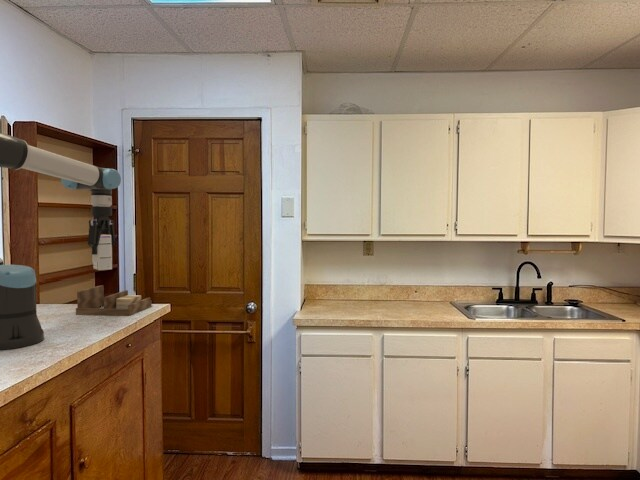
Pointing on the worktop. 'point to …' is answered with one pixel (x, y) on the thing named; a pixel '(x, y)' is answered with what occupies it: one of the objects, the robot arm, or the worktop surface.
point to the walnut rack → (106, 303)
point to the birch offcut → (128, 300)
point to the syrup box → (104, 253)
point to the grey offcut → (121, 307)
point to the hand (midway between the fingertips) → (102, 261)
